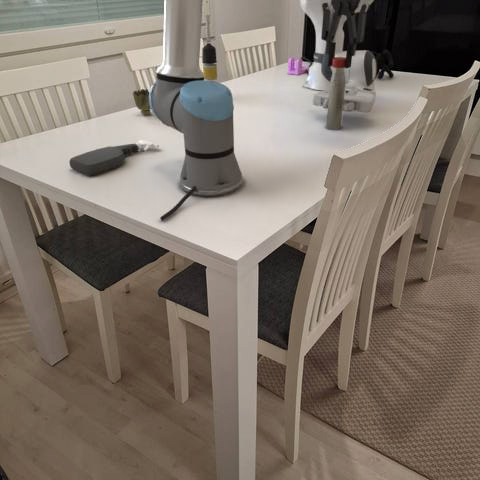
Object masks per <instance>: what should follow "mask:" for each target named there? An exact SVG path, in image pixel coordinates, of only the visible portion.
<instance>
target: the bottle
mask: <svg viewBox="0 0 480 480" xmlns="http://www.w3.org/2000/svg"><path fill="white" fill-rule="evenodd" d="M344 69H345V68H334V71H333V74H332V77H331V80H330V87H329V99H328V109H326V110H327V112H326V122H325V128H326V129H327V130H331V131H332V130H333V131H337V130H341V128H342V122H343V112H344V111H342V110H341V109H342V105H343V103H344V94H345V83H347V81H345V72H344Z"/></svg>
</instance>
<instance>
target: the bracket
mask: <svg viewBox="0 0 480 480" xmlns="http://www.w3.org/2000/svg"><path fill="white" fill-rule="evenodd" d="M306 70H308V72H309V66H304V65H303V58H302V59H301V58H298V57H297V58H296V60H295V57H289V58H288V61H287V74H288V75H295V76H298V75H301V74H304V73H307V72H306Z"/></svg>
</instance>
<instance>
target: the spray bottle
mask: <svg viewBox="0 0 480 480" xmlns="http://www.w3.org/2000/svg"><path fill="white" fill-rule="evenodd" d="M159 148H160V145H159V144H158V143H155V142H151V141H148V140H144V139H139V140H138V141H137V142H135V143H129V144H128V143H126V144H122V145H113V146H105V147H100V148H97V149H94V150H90V151H87V152H83V153H81V154H78V155H74V156H73V157H70V159H69V161H68V162H69V167H70V168H71V169H72V170H74V171H75V172H78V173H81V174H83V175H85V176H89V177H90V176H91V177H92V176H95V175H99V174H102V173H105V172H107V171H110V170H113V169H116V168H118V167H120V166H122V165H123V164H124V163H125V158H126V156H127V155H131V154H133V153H138V151H140V150H143V151H144V152H146V151H147V150H149V149H159Z"/></svg>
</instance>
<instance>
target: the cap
mask: <svg viewBox="0 0 480 480" xmlns="http://www.w3.org/2000/svg"><path fill="white" fill-rule="evenodd" d="M345 63H346V58H345V57H334V58H333V60H332V67H334V68H345Z"/></svg>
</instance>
